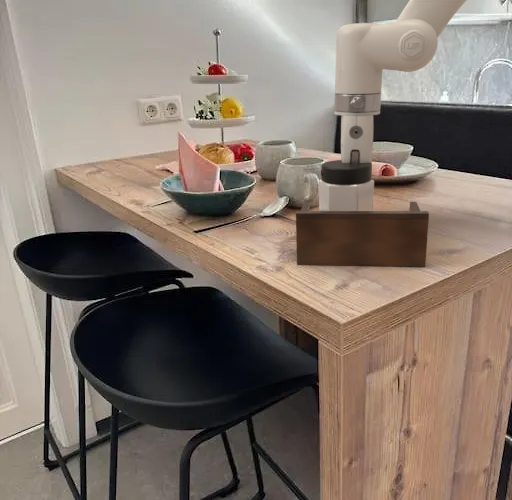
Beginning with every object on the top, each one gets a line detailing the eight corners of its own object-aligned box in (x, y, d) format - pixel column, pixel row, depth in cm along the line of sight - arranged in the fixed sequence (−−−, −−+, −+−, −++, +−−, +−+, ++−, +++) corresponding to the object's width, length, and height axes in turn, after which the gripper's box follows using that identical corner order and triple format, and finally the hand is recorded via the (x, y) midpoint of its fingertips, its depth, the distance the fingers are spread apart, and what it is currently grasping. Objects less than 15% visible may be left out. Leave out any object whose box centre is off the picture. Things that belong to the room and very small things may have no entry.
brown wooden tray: (296, 264, 73) (295, 213, 70) (304, 236, 85) (303, 191, 82) (425, 267, 70) (429, 213, 67) (414, 237, 82) (417, 190, 79)
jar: (342, 223, 91) (343, 157, 87) (380, 232, 85) (383, 162, 81) (309, 235, 85) (308, 165, 81) (348, 246, 79) (349, 171, 75)
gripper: (382, 108, 75) (375, 224, 82) (378, 101, 89) (373, 201, 96) (332, 109, 77) (329, 223, 83) (336, 102, 91) (333, 200, 97)
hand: (352, 211), depth 89 cm, fingers closed
